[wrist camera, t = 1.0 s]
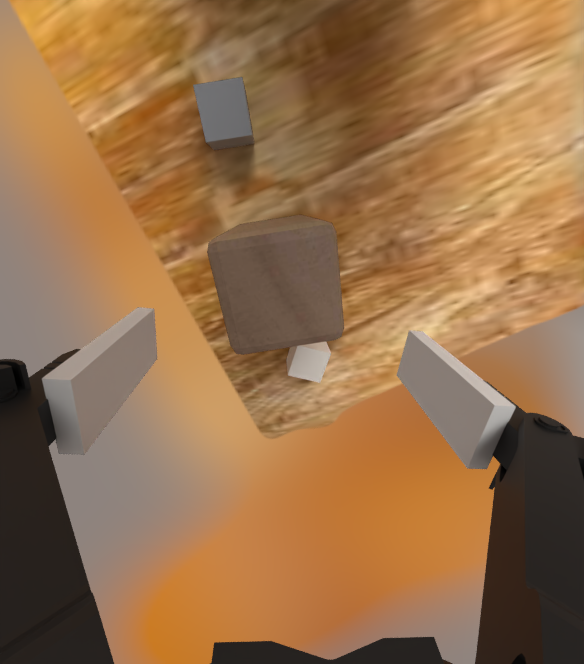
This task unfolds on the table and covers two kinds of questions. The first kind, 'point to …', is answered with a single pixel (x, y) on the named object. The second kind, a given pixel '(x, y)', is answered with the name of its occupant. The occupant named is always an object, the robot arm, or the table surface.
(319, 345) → the white cube
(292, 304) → the block
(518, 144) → the table surface
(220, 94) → the slate cube
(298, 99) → the table surface
